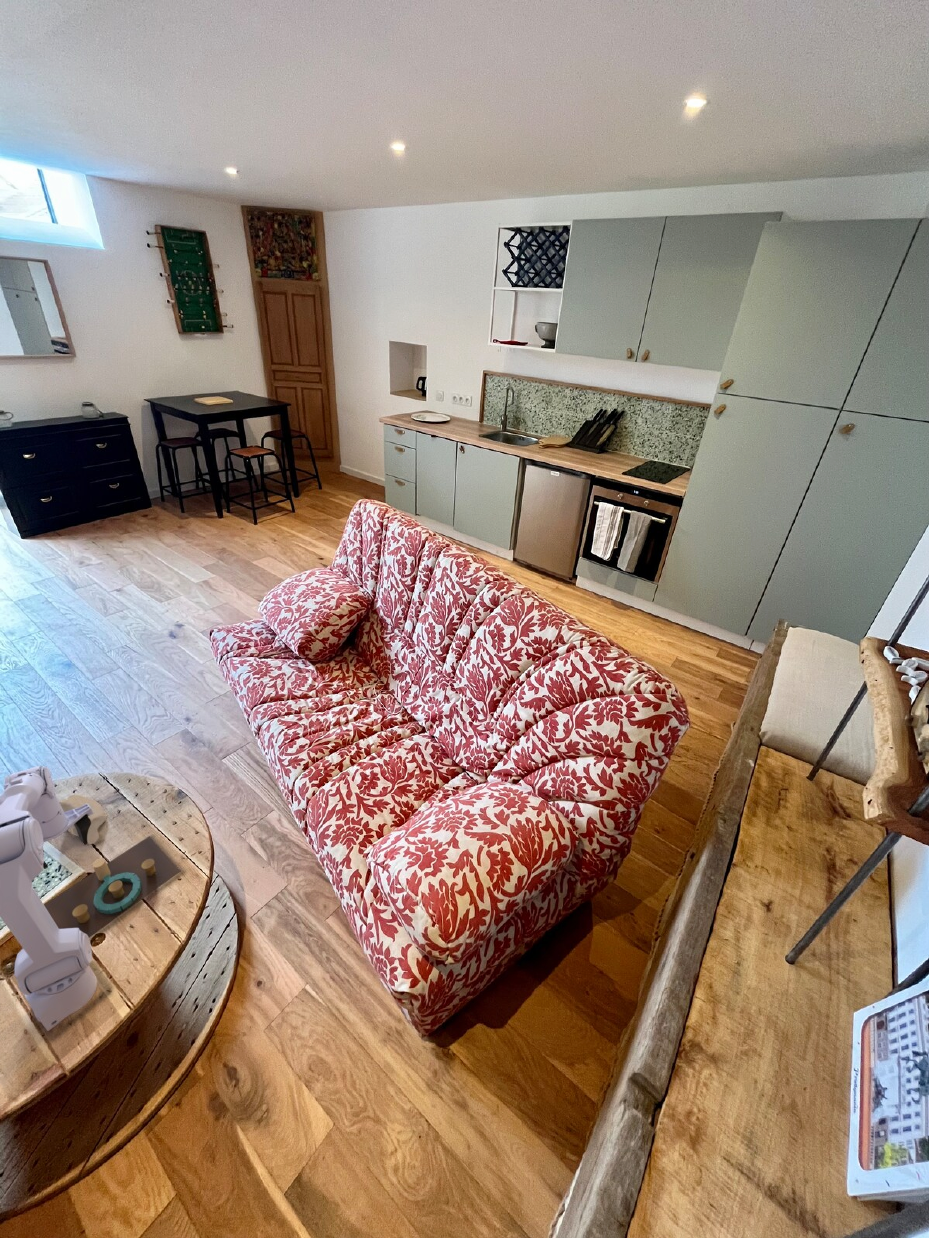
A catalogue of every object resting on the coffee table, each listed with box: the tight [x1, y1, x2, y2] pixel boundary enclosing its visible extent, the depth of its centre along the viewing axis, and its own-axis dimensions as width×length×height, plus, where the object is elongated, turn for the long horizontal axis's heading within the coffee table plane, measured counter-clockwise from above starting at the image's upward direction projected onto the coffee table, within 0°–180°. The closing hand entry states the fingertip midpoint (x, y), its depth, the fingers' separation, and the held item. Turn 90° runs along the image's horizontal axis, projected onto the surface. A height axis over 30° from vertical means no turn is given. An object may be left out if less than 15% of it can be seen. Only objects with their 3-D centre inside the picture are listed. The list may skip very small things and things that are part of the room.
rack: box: [43, 836, 181, 939], centre depth 115 cm, size 23×15×4 cm, turn 144°
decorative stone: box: [59, 794, 108, 846], centre depth 128 cm, size 8×14×8 cm, turn 51°
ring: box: [91, 857, 142, 914], centre depth 114 cm, size 9×13×5 cm
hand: (64, 853), depth 113 cm, fingers open, 7 cm apart
